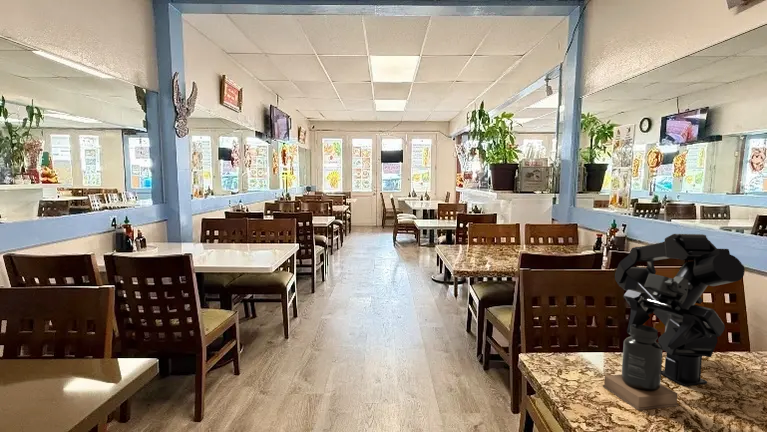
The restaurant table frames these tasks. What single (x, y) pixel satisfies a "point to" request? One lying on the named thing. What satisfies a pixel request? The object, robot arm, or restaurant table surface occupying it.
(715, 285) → the robot arm
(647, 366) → the supplement bottle
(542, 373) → the restaurant table surface
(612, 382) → the walnut base
